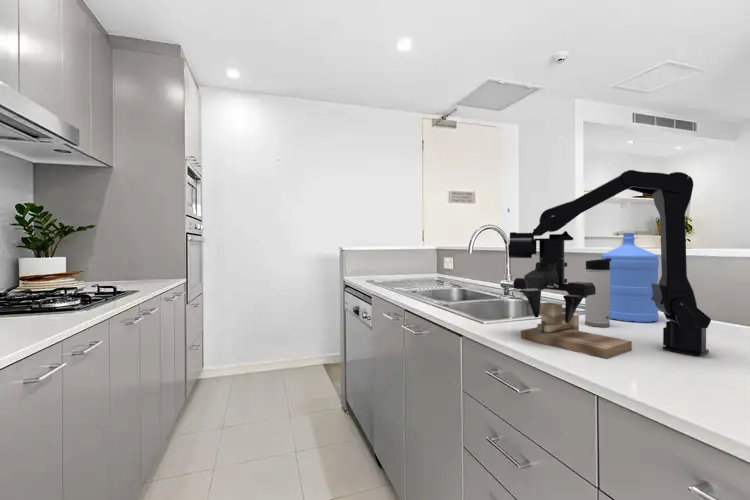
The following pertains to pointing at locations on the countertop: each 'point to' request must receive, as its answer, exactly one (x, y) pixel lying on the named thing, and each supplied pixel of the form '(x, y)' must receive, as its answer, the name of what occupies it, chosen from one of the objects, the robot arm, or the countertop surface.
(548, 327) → the beech gauge
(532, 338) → the walnut board
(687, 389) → the countertop surface
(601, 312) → the travel mug
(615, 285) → the water jug
